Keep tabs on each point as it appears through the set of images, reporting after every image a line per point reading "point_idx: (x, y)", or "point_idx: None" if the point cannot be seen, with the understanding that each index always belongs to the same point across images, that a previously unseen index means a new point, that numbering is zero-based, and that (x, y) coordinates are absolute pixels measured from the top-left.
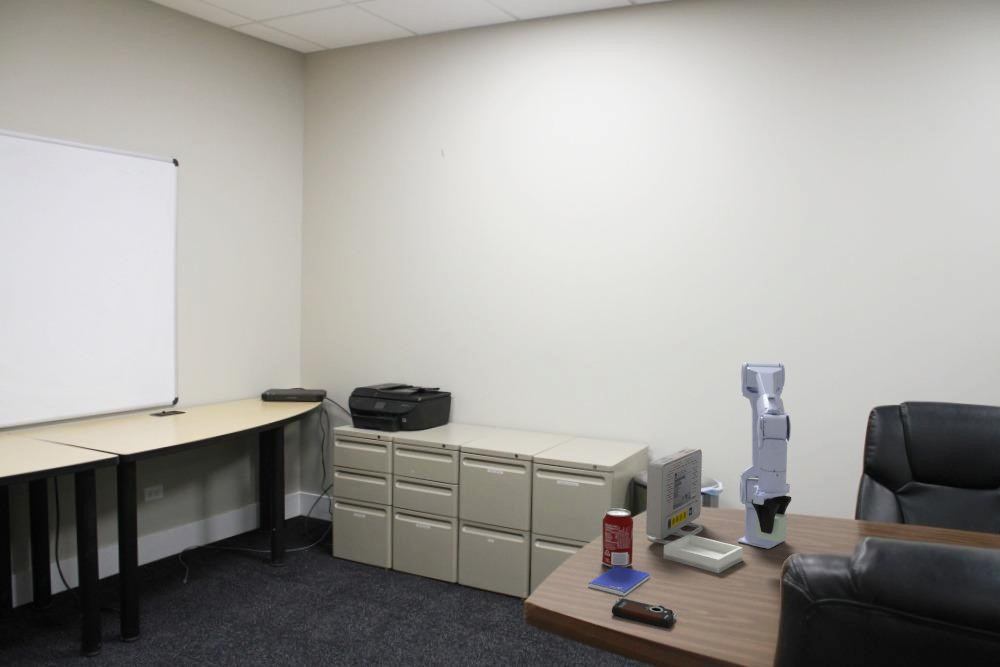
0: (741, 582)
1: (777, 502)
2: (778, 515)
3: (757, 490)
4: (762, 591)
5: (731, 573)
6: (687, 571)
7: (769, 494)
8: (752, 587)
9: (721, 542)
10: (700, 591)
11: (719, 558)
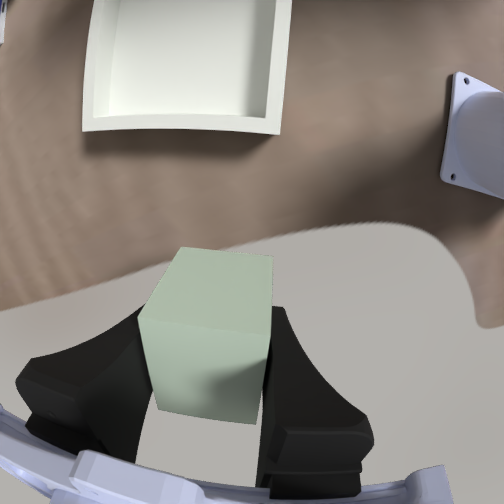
0: (94, 207)
1: (261, 454)
2: (224, 404)
3: (24, 468)
4: (86, 267)
5: (132, 155)
6: (70, 60)
7: (37, 490)
8: (88, 241)
9: (282, 40)
10: (3, 164)
11: (94, 126)
